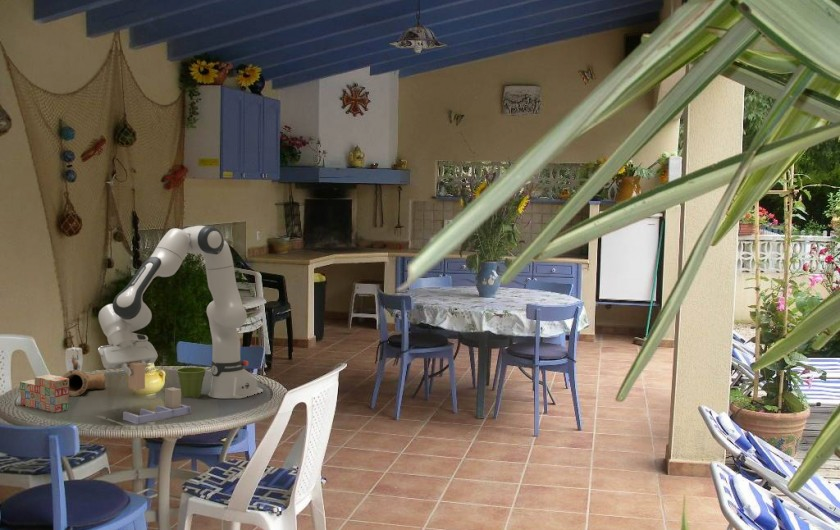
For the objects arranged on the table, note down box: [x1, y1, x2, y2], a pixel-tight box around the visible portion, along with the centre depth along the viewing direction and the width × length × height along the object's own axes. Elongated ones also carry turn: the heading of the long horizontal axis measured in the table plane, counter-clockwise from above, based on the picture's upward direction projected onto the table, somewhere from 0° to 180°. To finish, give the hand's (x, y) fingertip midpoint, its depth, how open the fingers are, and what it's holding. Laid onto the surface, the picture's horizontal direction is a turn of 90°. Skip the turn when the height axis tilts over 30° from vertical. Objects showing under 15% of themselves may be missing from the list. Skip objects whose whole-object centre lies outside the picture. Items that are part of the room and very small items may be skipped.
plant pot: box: [175, 366, 207, 399], centre depth 360 cm, size 12×12×11 cm
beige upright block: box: [164, 386, 182, 409], centre depth 330 cm, size 4×5×9 cm
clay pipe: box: [62, 370, 107, 397], centre depth 366 cm, size 19×11×15 cm
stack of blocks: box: [19, 374, 70, 413], centre depth 340 cm, size 21×6×12 cm, turn 58°
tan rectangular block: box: [127, 362, 146, 391], centre depth 320 cm, size 4×5×9 cm
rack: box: [122, 403, 192, 425], centre depth 325 cm, size 22×10×4 cm, turn 139°
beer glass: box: [64, 347, 84, 373], centre depth 383 cm, size 7×7×15 cm
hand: (137, 373), depth 320 cm, fingers closed on tan rectangular block, 3 cm apart
